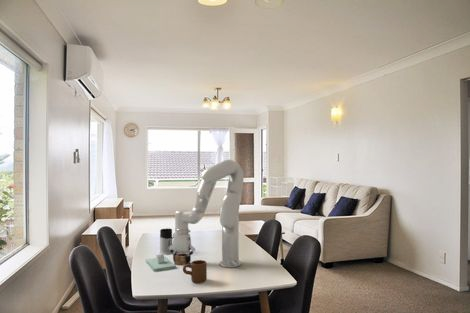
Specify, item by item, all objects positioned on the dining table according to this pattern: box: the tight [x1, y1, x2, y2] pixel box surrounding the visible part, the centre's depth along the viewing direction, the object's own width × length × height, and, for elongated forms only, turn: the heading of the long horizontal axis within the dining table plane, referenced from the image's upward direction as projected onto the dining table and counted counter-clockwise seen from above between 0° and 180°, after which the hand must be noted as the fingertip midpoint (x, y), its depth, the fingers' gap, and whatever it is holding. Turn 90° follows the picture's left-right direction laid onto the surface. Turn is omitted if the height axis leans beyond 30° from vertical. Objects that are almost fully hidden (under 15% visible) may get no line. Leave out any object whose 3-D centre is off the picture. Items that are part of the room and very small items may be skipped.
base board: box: [145, 256, 176, 272], centre depth 202 cm, size 20×12×2 cm, turn 27°
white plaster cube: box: [155, 254, 165, 264], centre depth 202 cm, size 4×4×4 cm
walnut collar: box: [173, 252, 189, 266], centre depth 204 cm, size 6×6×5 cm
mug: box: [182, 259, 208, 284], centre depth 174 cm, size 12×8×9 cm, turn 112°
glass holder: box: [159, 228, 175, 256], centre depth 227 cm, size 9×14×15 cm, turn 64°
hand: (181, 261), depth 204 cm, fingers open, 7 cm apart
